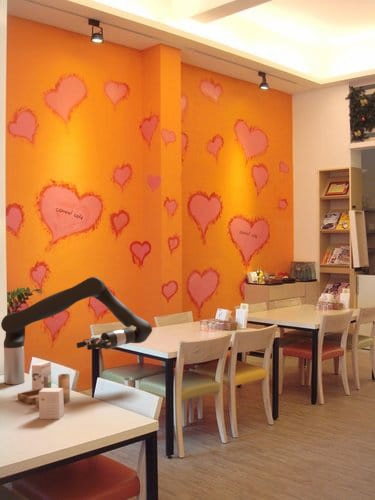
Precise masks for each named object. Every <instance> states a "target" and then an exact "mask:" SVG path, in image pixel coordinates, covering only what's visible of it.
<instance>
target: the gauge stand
mask: <svg viewBox="0 0 375 500" xmlns="http://www.w3.org/2000/svg"><path fill="white" fill-rule="evenodd" d="M44 388H48V376H45V377H44ZM35 406H36V407H37V408H39V396H36V404H35Z"/></svg>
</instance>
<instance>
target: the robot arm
mask: <svg viewBox="0 0 375 500" xmlns="http://www.w3.org/2000/svg"><path fill="white" fill-rule="evenodd" d="M90 297H92V298H94V299H96V300H97V301H99V302H100V303H102V304H103V305H104V306H105V307H106V308H107V309H108V310H109V311H110V312H111V314H113V316H114V317H115V318H116V319H117V320H118V321H119V322H120V323H121V324H122V325H123V326H124V327H125V328H121V329H115V330H110V331H109V330H108V331H105V332H103V333H102V334H101V335H100V337H91V338H87V339H83V340H82V341H79V342H76V348H77V349H81V348H85V347H86V349H87V350H88V351H90V350H95V349H97V350H98V349H100V350H102V349H104V350H110V349H115V348H119V347H121V346H123V345H127V344H142V343H143V342H146V340H147V339H148V338H149V337H150V336H151V334H152V331H153V327H152V325H151V323H149V322H148V321H147V320H146V319H143V318H142V317H139V316H138V315H136V314H135V313H134V312H133V311H132V310H131V309H129V308H128V306H127V305H125V304H124V303H123V302H121V301H120V300H119V299H118V298H117V297H116V296H115V295H114V294H113V293H112V292H111V291H110V289H109V288H108V287H107V285H106V284H105V282H104V281H103V280H102V279H101V278H99V277H96V276H90V277H88V278H86V279H85V280H83V281H80V282H79V283H77V284H76V285H73V286H72V287H70V288H67V289H64V290H61V291H58V292H55V293H54V294H51V295H49V296H46V297H45V298H42V299H41V300H39V301H37V302H35V303H34V304H32V305H30V306H28V307H26V308H25V309H21V310H18V311H15V312H11V313H8V314H6V315H5V316H4V317H3V318H2V320H1V323H0V327H1V329H2V330H3V331H4V332H5V335H4V336H5V338H4V341H3V382H4V384H5V383H6V384H5V385H9V384H13V385H20V384H23V383H24V382H25V339H26V327H27V326H29V325H31V324H33V323H35V322H38V321H42V320H45V319H48V318H51V317H53V316H56V315H58V314H61V313H62V312H64V311H66V310H68V309H70V307H72V306H74V305H75V304H76V303H79V302H80V301H81V300H85V299H87V298H90ZM132 326H133V327H134V328H135V329H133V328H131V327H132Z"/></svg>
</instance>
